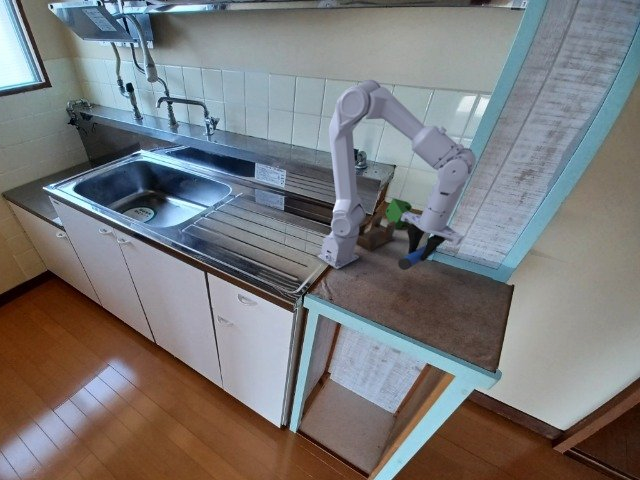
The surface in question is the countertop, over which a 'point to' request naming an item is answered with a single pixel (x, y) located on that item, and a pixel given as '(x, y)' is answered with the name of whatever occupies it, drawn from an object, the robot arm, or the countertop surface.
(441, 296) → the countertop surface
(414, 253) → the handle
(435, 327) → the countertop surface
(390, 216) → the clamp
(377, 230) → the holder
